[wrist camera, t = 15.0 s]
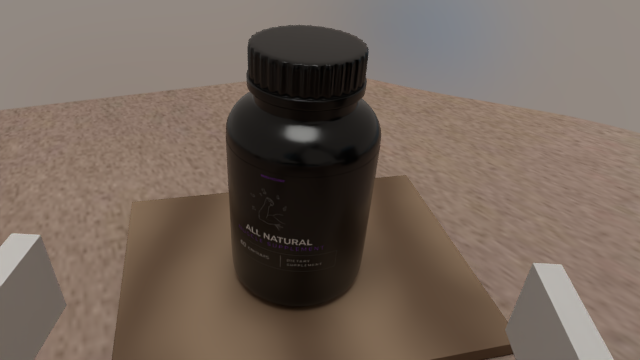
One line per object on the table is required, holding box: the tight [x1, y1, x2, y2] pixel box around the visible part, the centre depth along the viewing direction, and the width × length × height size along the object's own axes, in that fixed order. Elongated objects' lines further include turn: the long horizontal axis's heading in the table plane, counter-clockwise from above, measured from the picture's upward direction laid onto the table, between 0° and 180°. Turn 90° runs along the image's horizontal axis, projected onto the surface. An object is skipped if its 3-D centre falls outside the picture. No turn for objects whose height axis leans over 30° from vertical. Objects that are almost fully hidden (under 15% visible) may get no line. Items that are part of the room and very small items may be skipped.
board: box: [112, 175, 513, 360], centre depth 26 cm, size 18×14×1 cm
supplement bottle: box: [226, 25, 381, 307], centre depth 22 cm, size 7×7×12 cm
